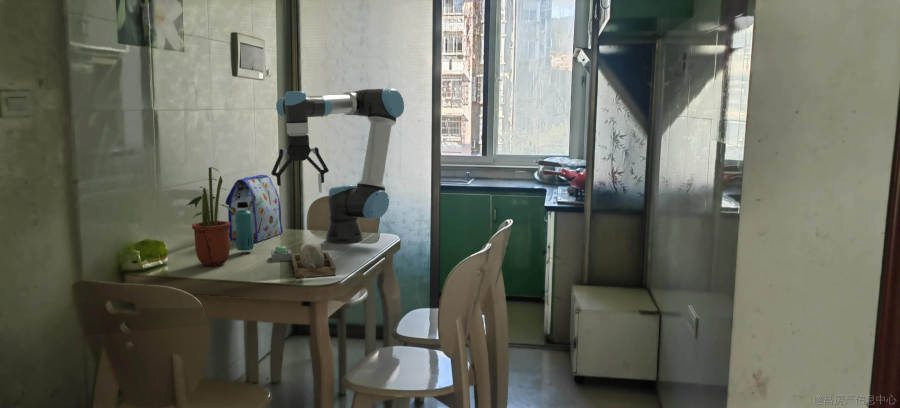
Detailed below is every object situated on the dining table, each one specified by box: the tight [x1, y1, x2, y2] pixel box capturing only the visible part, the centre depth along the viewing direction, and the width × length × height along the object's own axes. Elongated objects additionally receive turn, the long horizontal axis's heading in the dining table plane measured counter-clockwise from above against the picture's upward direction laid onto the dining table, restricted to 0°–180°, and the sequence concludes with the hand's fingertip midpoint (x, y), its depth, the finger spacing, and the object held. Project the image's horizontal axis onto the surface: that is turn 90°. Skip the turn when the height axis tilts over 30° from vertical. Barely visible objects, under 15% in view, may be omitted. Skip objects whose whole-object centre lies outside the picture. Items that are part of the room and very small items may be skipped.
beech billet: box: [300, 243, 322, 251], centre depth 247 cm, size 7×7×6 cm
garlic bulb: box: [299, 244, 324, 269], centre depth 235 cm, size 9×8×10 cm
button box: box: [270, 249, 293, 262], centre depth 254 cm, size 7×7×4 cm
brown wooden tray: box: [291, 251, 336, 280], centre depth 241 cm, size 13×25×3 cm, turn 16°
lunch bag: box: [225, 174, 283, 243], centre depth 299 cm, size 23×17×27 cm
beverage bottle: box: [235, 202, 255, 252], centre depth 269 cm, size 6×7×20 cm
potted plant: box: [185, 166, 235, 267], centre depth 246 cm, size 17×16×35 cm
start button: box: [274, 245, 288, 254], centre depth 254 cm, size 4×4×4 cm
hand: (301, 193), depth 252 cm, fingers open, 13 cm apart
